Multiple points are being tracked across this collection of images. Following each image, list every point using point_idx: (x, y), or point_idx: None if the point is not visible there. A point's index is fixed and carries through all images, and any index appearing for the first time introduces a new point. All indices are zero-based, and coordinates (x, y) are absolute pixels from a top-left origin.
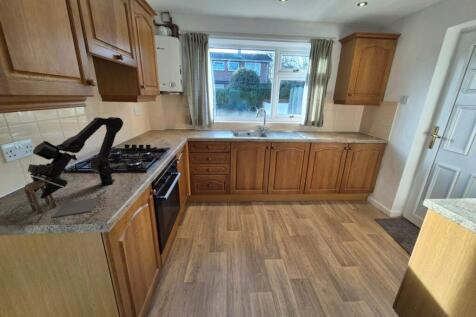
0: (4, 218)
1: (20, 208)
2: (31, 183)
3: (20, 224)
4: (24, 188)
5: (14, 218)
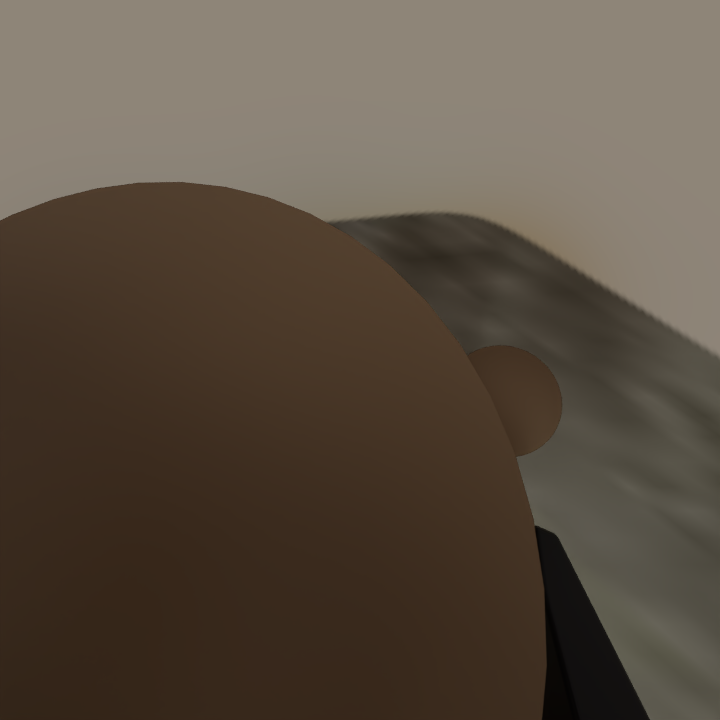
0: (605, 286)
1: (673, 482)
2: (329, 588)
3: (333, 224)
4: (521, 368)
5: (495, 294)
